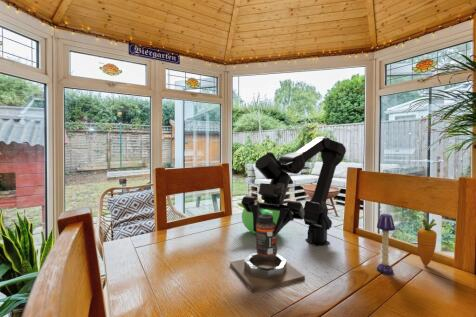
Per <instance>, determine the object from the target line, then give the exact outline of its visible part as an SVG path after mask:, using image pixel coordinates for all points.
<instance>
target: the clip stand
mask: <svg viewBox="0 0 476 317" xmlns="http://www.w3.org/2000/svg"><path fill="white" fill-rule="evenodd" d="M245 259H246V258H243V259H239V260H233V261H230V263H229V265H230V267H231V268H232V269H233V270H234V272H235V273H236V274H237V276H238V277H240V280H242V281H243V282H244V285H246V286H247V287H248V289H249V291H251V292H252V294H253V293H257V292H261V291H265V290H270V289H273V288H276V287H277V288H278V287H281V286H285V285H288V284H292V283H297V282H300V281H304V280H306V278H305V277H306V276H305V275H304V274H303V273H301V272H300V271H298V270H297V269H296V268H295V267H294V266H292V265H291V264H290V263H288V262H287V266H286V271H285V273H284V275H283V276H282V277H278V278H274V279H270V280H266V279H261V278H256V277H251V275H250V274H249V273H248V272H247V271H246V270H245V269H244V260H245ZM253 265H254V266H256V267H262V268H267V269H268V268H272V267H277V266H278V265H277V264H276V263H272V262H267V261H261V262H256V263H253Z"/></svg>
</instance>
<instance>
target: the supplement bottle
mask: <svg viewBox="0 0 476 317" xmlns="http://www.w3.org/2000/svg"><path fill="white" fill-rule="evenodd" d="M275 226H276V224H275V223H274V222H273V216H272V215H269V214H263V215H260V216H259V222H258V223H257V224H256V234H255V237H256V238H255V239H256V241H255V242H256V243H255V244H256V253H257V254H258V255H259V256H261V257H273V256H275V255H276V254H278V239H277V238H278V234H277V235H274V229H275Z"/></svg>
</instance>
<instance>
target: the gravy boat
mask: <svg viewBox="0 0 476 317" xmlns="http://www.w3.org/2000/svg"><path fill="white" fill-rule="evenodd" d="M257 201H259V202H264V200H262V198H261V199H257ZM237 206H239V207H241V208H243V210H242V212H241V222H242V223H243V226H244V227H245V228H246V229H247V230H248V231H249V232H250V233H253V234H255V235H256V232H254V230H253V213H252V212H247V211H246V210H245V208H244V206H243V205H242V203H241V202H237ZM260 212H261V213H262V215H263V214H269V215H272V216H273V222H274V223H275V224H276V223H277V220H278V218H279V213H280V211H276V210H268V209H261V210H260Z"/></svg>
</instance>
